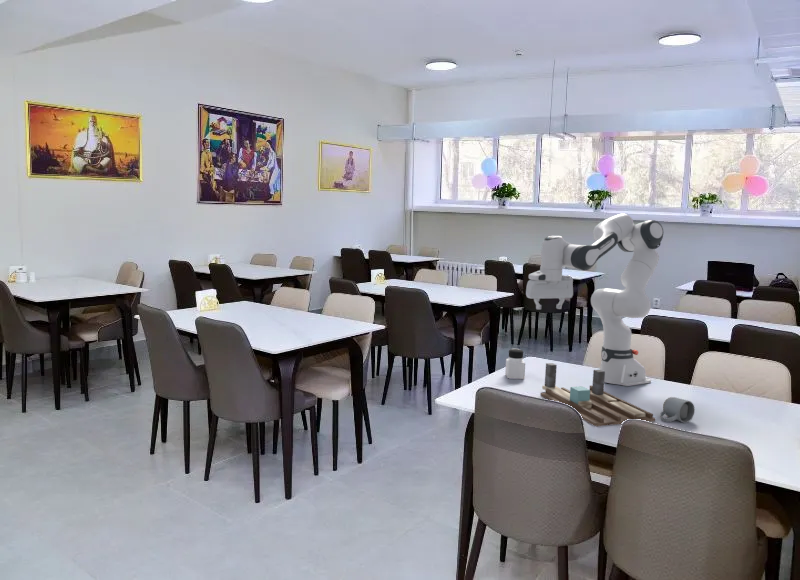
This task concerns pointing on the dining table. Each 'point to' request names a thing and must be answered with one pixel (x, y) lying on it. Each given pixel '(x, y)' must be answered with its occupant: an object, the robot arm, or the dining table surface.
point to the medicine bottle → (515, 365)
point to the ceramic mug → (677, 410)
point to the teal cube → (579, 394)
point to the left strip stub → (600, 386)
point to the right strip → (550, 384)
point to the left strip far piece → (629, 409)
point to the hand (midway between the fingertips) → (548, 309)
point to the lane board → (600, 409)
